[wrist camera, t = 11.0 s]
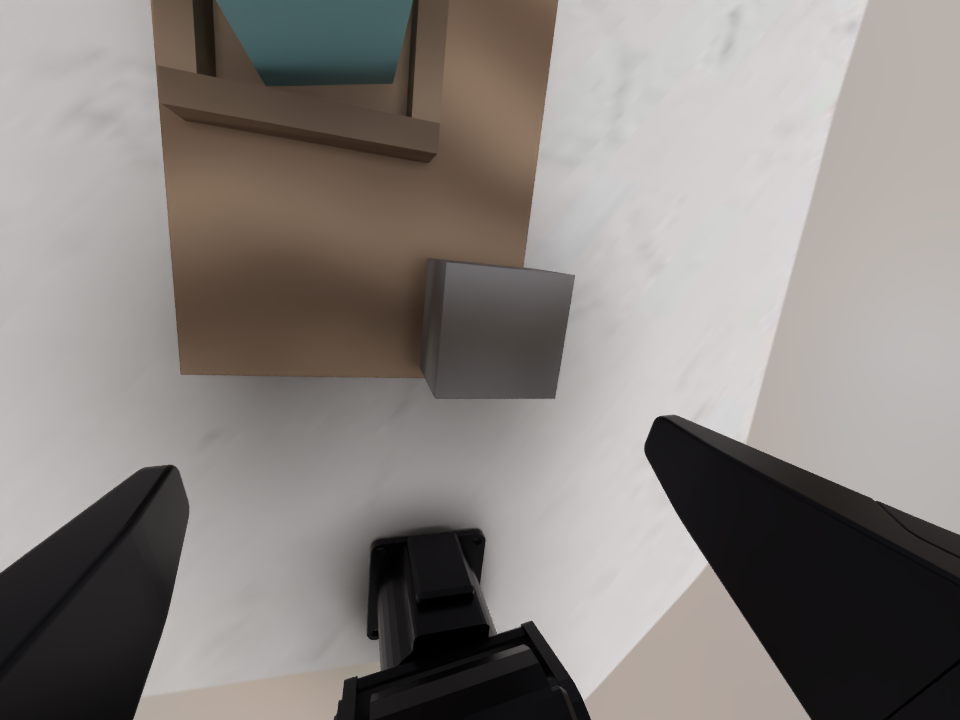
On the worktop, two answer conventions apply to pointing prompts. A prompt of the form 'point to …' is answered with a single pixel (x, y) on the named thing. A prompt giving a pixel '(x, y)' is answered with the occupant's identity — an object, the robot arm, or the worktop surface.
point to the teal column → (320, 39)
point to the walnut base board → (363, 206)
